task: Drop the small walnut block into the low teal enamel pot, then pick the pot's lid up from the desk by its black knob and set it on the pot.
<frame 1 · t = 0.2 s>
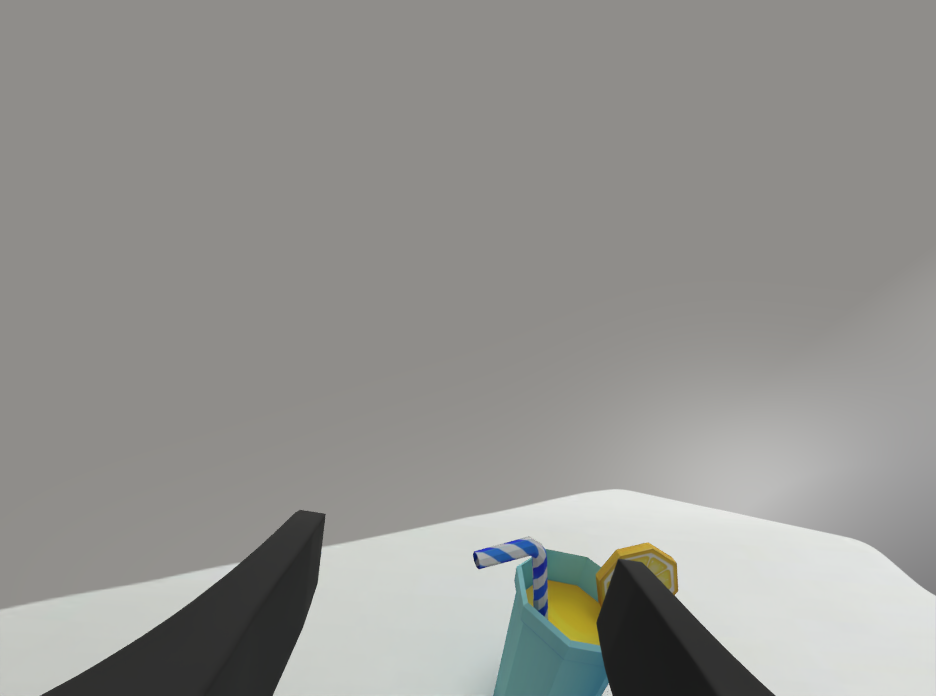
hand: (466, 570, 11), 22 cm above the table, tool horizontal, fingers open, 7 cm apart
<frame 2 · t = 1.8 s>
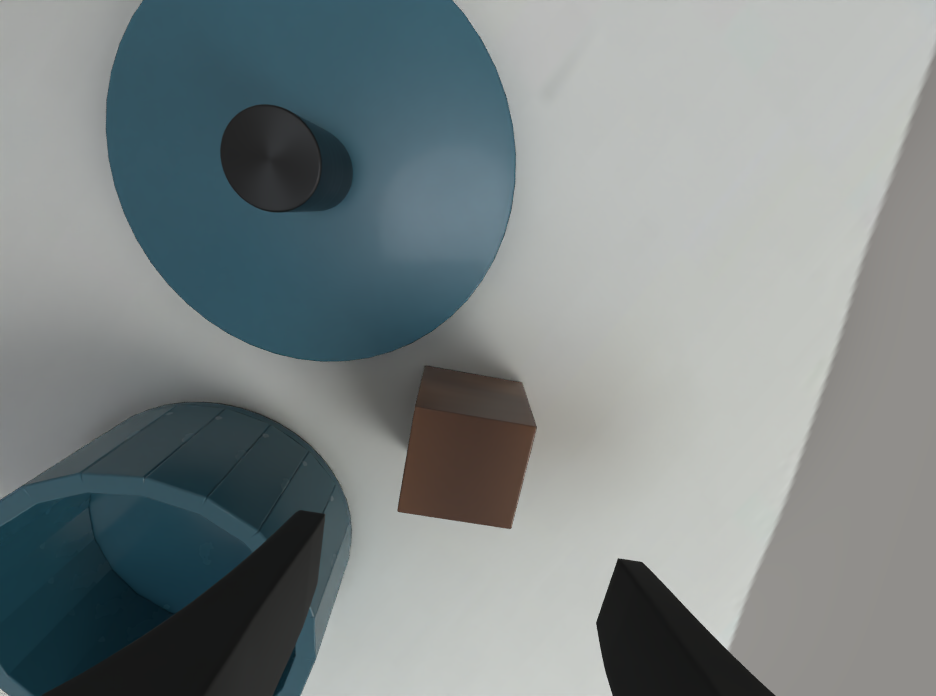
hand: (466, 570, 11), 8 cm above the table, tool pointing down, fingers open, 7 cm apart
lid: (318, 171, 16), point 1 cm above the table
pot: (218, 523, 21), on the table
block: (464, 418, 19), on the table
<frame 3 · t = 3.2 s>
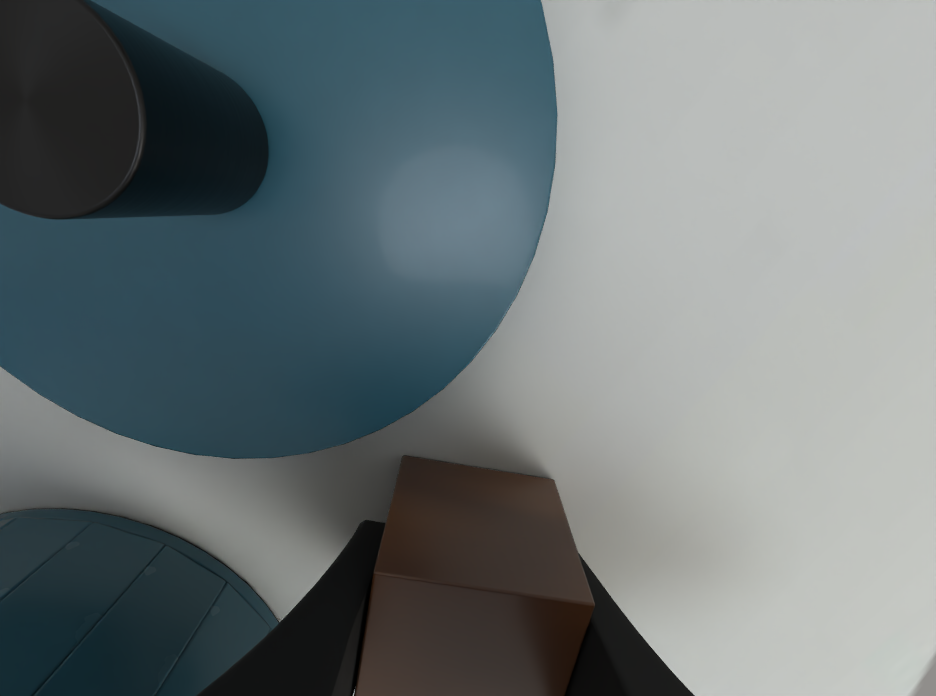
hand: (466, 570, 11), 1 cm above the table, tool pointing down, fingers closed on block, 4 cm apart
lid: (213, 145, 9), point 1 cm above the table
pot: (102, 675, 14), on the table
block: (465, 530, 13), on the table, touching gripper
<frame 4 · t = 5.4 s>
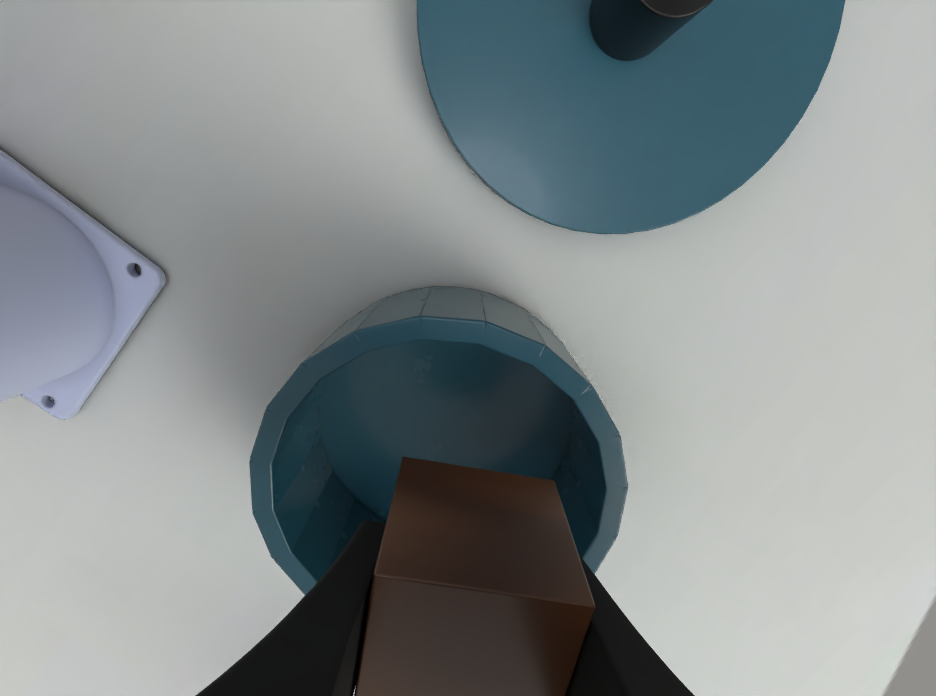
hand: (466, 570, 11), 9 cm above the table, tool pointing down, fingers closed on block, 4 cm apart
lid: (625, 20, 15), point 1 cm above the table
pot: (445, 423, 20), on the table
block: (465, 531, 13), point 7 cm above the table, touching gripper
when the fingers open (3 cm above the table, at t = 7.8 s): block stays where it is, resting on pot.
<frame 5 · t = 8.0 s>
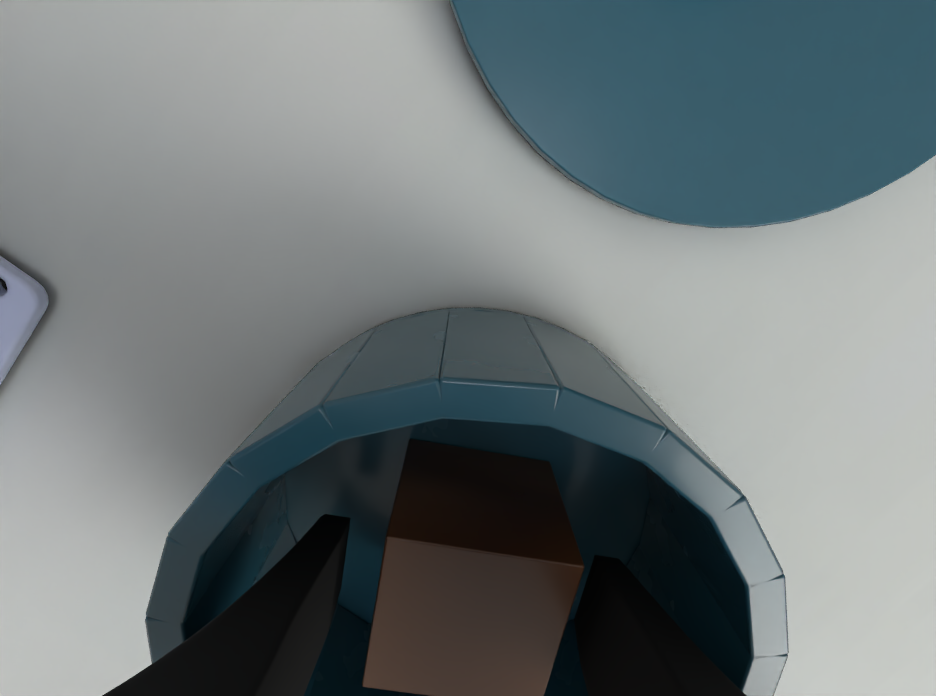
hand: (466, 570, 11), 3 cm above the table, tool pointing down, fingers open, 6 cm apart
pot: (467, 500, 14), on the table
block: (467, 509, 13), resting on pot
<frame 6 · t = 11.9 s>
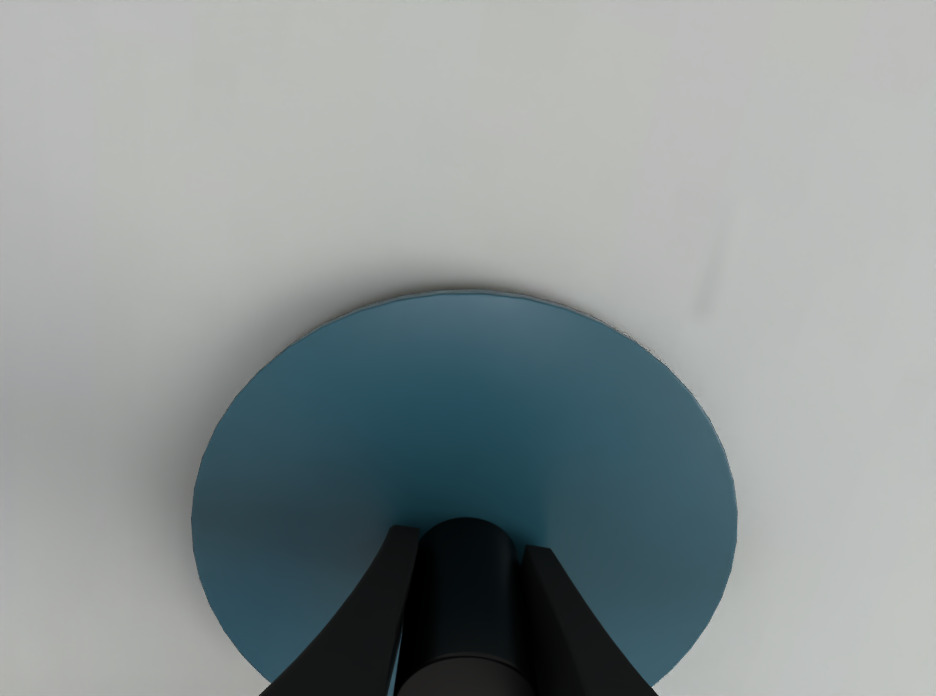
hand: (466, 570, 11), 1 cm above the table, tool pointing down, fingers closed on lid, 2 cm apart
lid: (465, 546, 12), point 1 cm above the table, touching gripper
when the fingers open (6 cm above the table, at t = 15.6 s): lid stays where it is, resting on pot.
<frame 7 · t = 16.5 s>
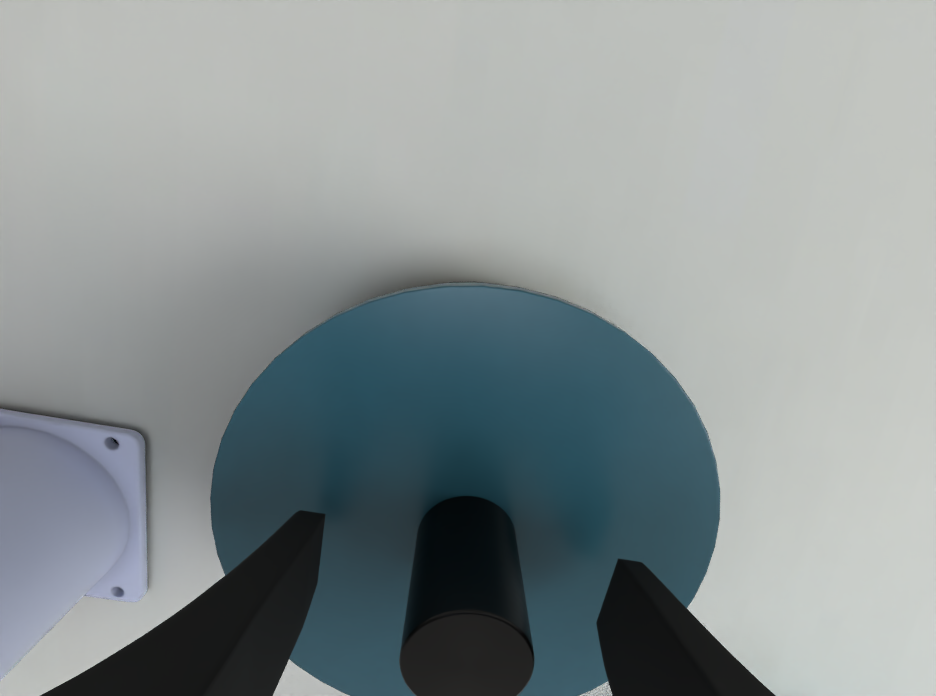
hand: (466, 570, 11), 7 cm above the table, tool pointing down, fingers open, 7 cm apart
lid: (466, 524, 13), point 5 cm above the table, touching pot
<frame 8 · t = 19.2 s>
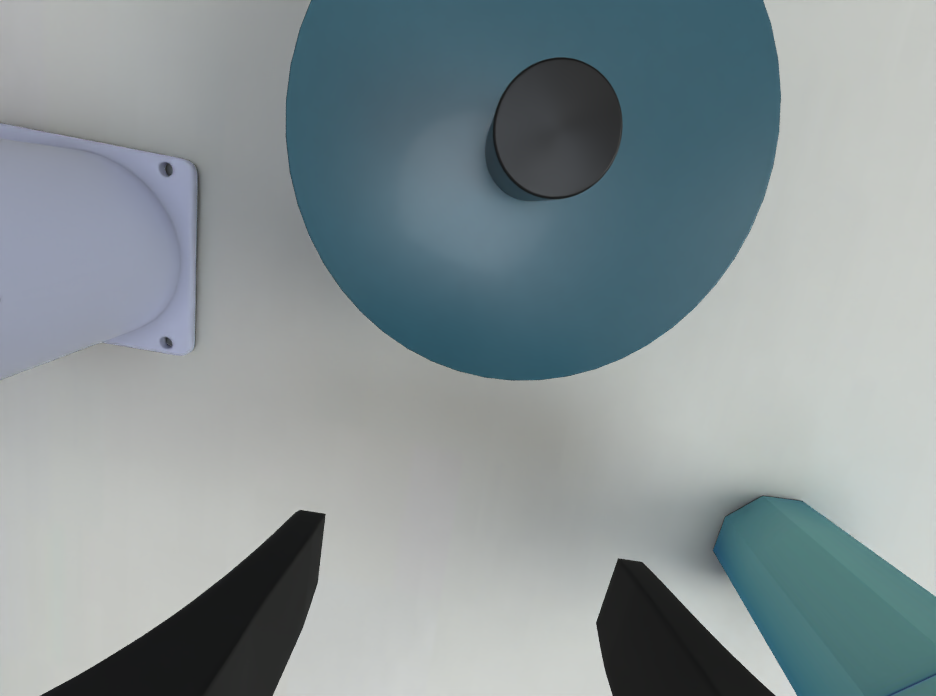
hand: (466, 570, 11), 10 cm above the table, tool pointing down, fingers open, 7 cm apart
lid: (530, 153, 13), point 5 cm above the table, touching pot
cup: (762, 522, 23), on the table
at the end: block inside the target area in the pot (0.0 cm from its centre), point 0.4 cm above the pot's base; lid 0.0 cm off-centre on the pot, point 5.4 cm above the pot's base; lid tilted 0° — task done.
